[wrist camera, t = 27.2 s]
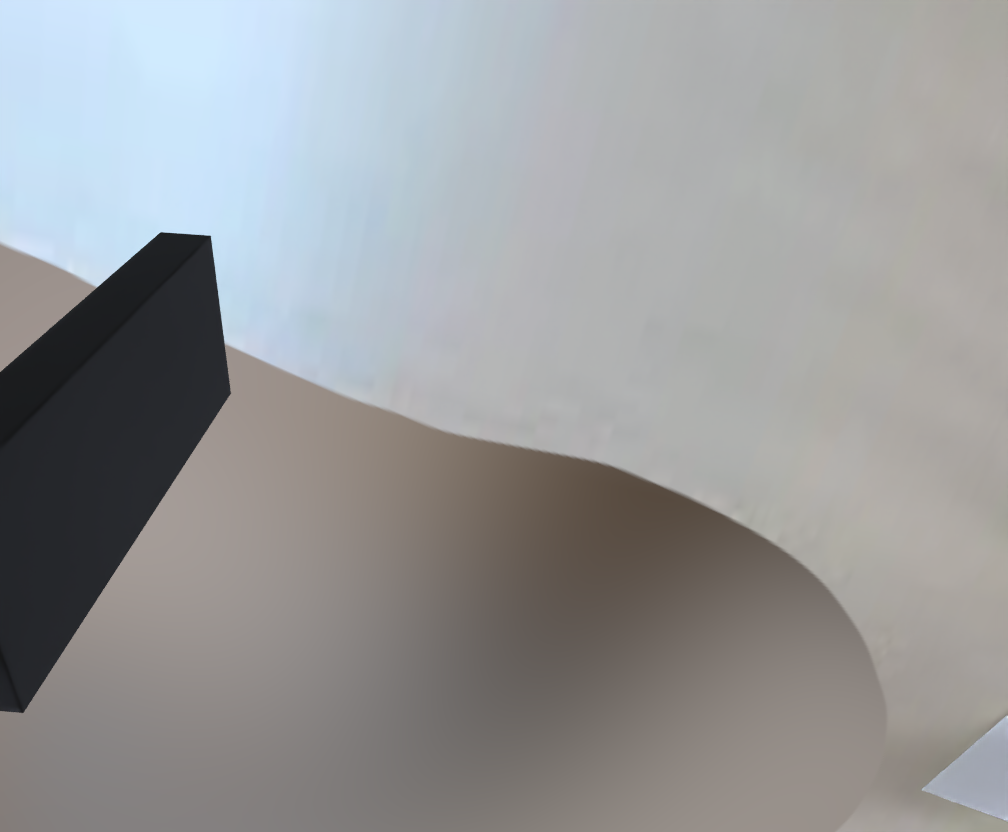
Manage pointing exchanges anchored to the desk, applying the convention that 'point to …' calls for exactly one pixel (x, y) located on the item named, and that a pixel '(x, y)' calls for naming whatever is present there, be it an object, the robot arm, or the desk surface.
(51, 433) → the robot arm
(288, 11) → the desk surface
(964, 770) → the architectural model
